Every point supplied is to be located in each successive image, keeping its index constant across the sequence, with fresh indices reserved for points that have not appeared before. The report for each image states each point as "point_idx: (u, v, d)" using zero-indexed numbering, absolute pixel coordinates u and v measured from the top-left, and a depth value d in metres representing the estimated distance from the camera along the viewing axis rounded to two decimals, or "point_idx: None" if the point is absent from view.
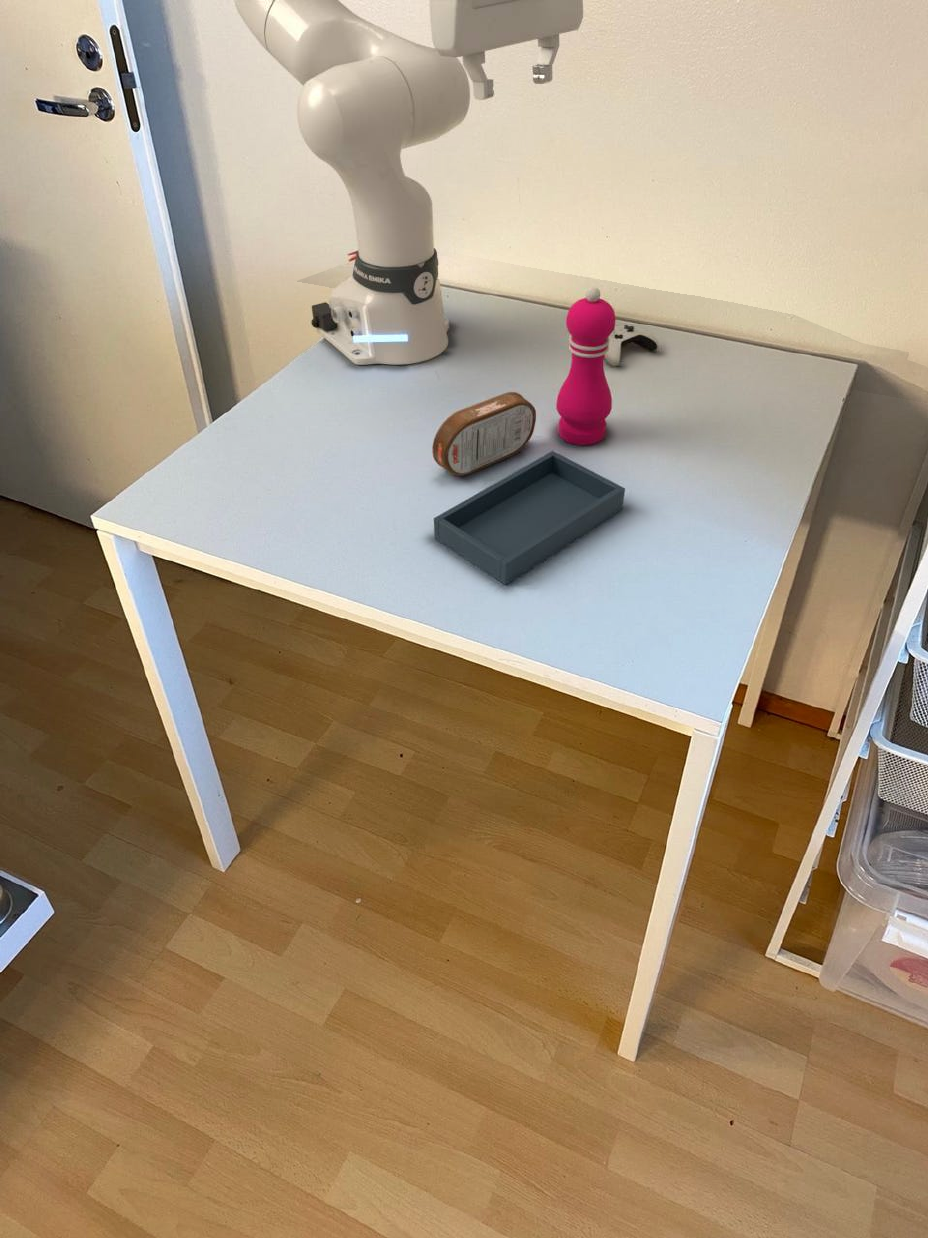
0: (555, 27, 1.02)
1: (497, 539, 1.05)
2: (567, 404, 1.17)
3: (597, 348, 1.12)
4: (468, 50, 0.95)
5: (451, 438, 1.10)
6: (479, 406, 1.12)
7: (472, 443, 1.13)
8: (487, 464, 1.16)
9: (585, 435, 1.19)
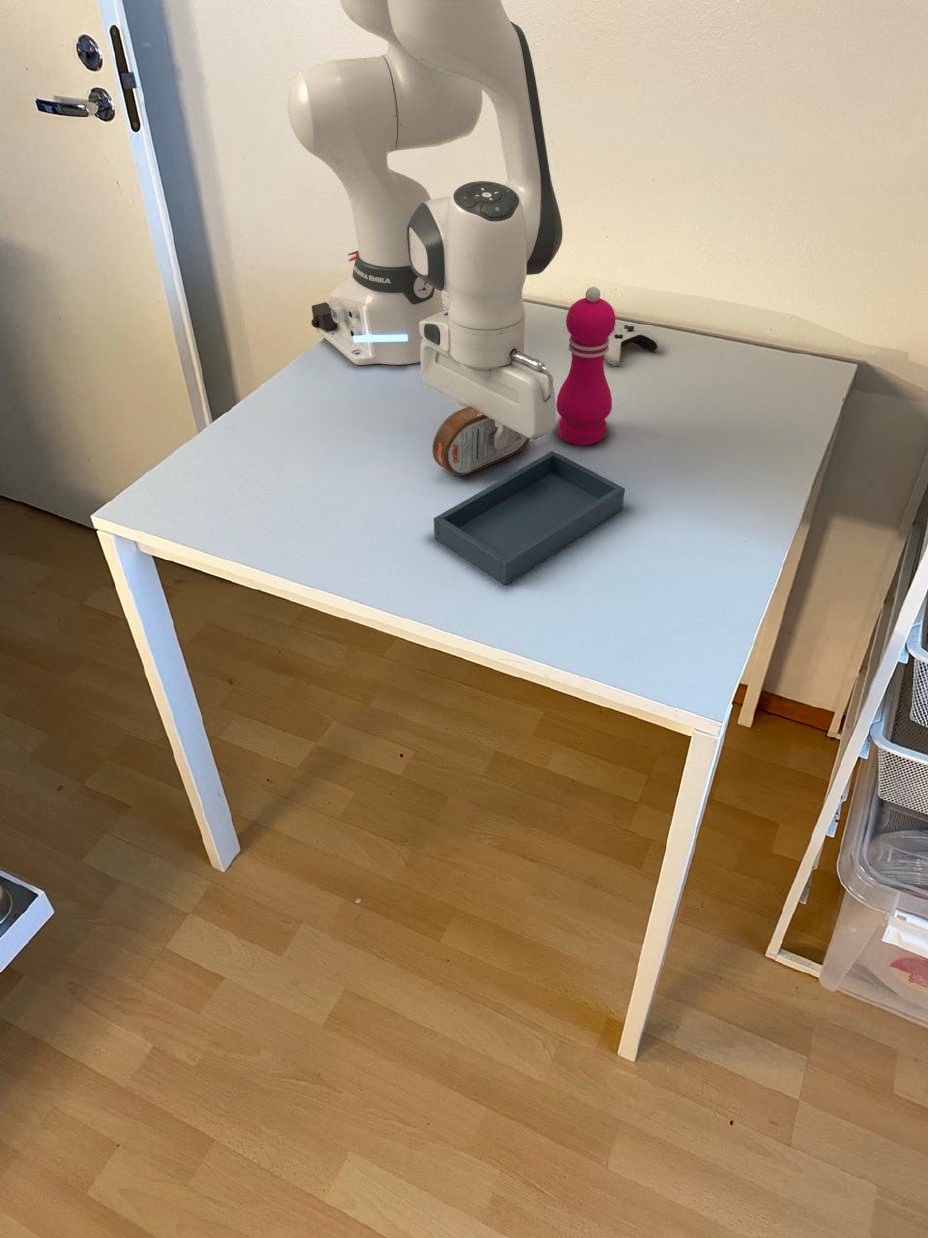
0: (505, 422, 1.08)
1: (497, 539, 1.05)
2: (567, 404, 1.17)
3: (597, 348, 1.12)
4: (431, 385, 1.16)
5: (451, 438, 1.10)
6: None
7: (472, 443, 1.13)
8: (487, 464, 1.16)
9: (585, 435, 1.19)
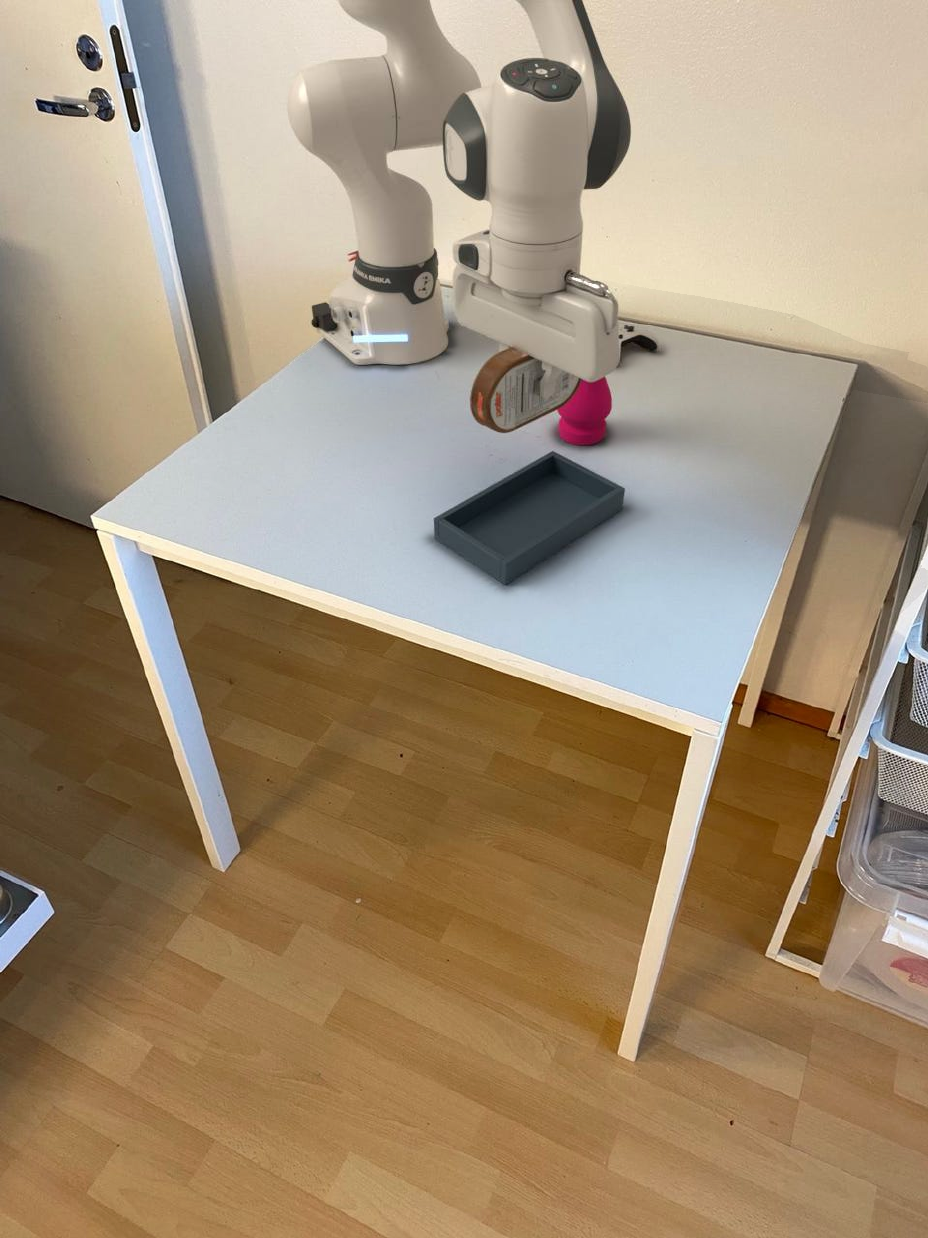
0: (557, 363, 0.90)
1: (497, 539, 1.05)
2: (567, 404, 1.17)
3: None
4: (464, 323, 0.97)
5: (494, 384, 0.91)
6: None
7: (516, 392, 0.94)
8: (533, 418, 0.98)
9: (585, 435, 1.19)
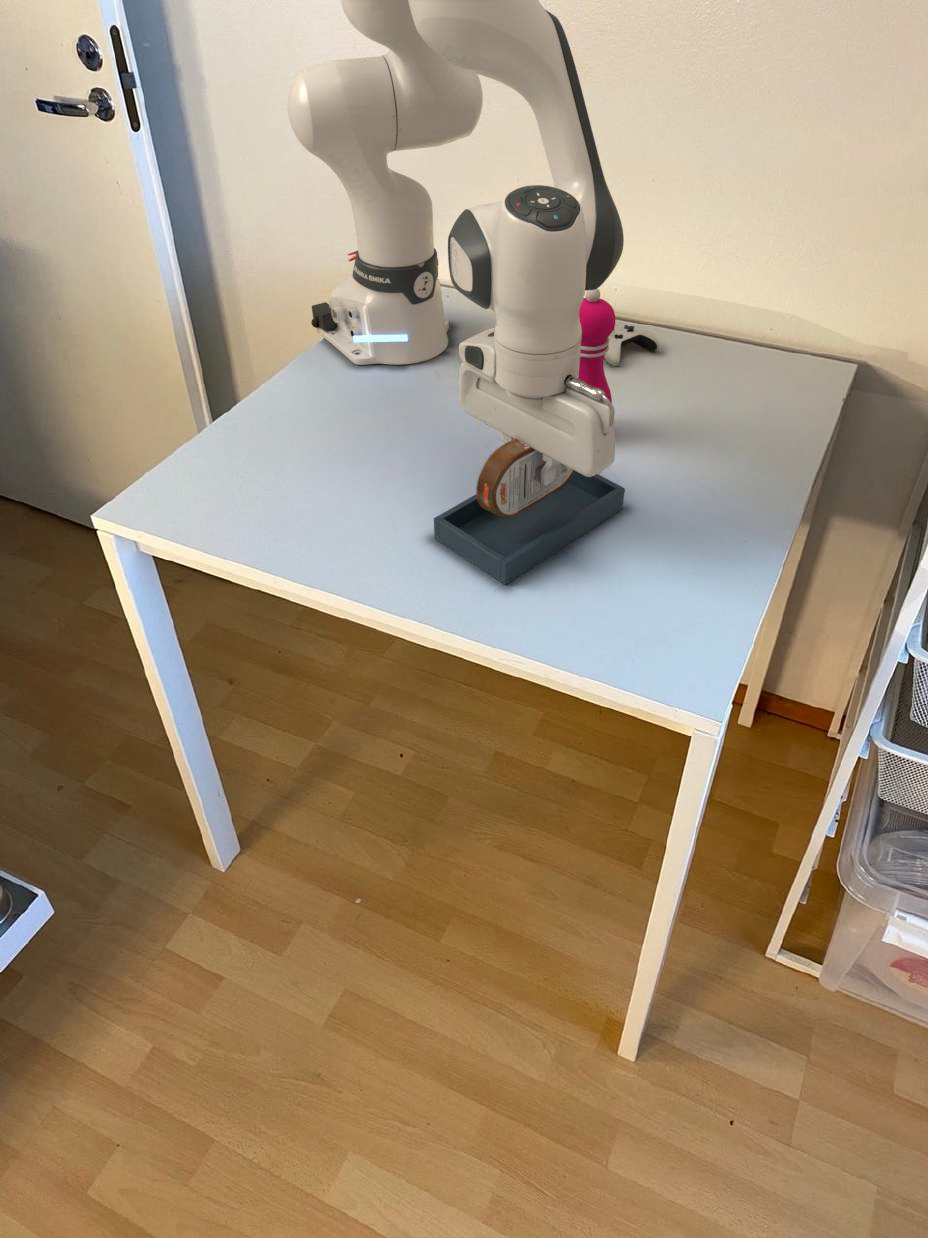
0: (557, 457, 0.96)
1: (497, 539, 1.05)
2: None
3: (597, 348, 1.12)
4: (470, 413, 1.03)
5: (499, 476, 0.97)
6: None
7: (520, 480, 1.00)
8: (535, 502, 1.04)
9: None
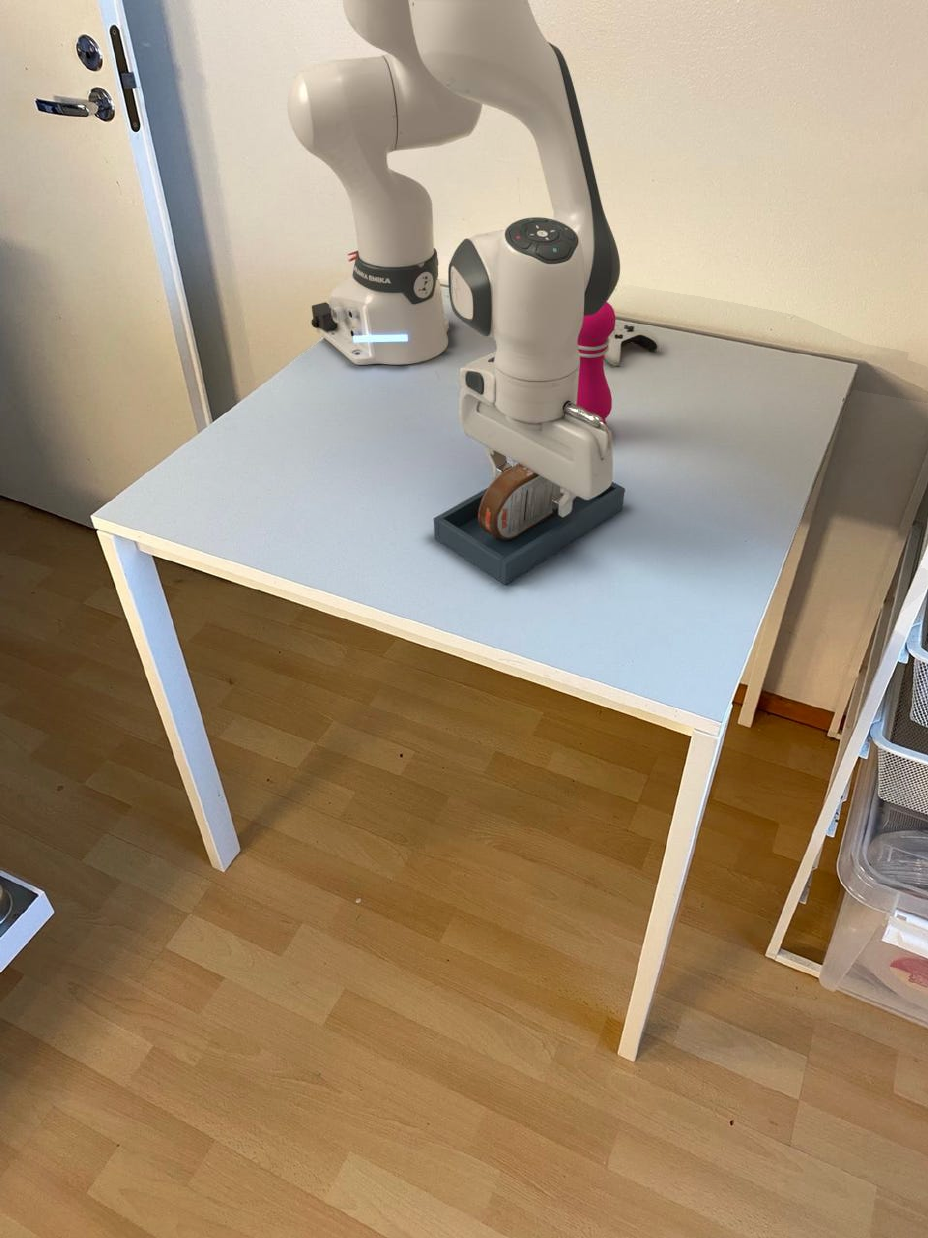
0: (556, 480, 0.98)
1: (497, 539, 1.05)
2: None
3: (597, 348, 1.12)
4: (470, 435, 1.05)
5: (502, 502, 0.99)
6: None
7: (521, 505, 1.02)
8: (534, 524, 1.06)
9: None
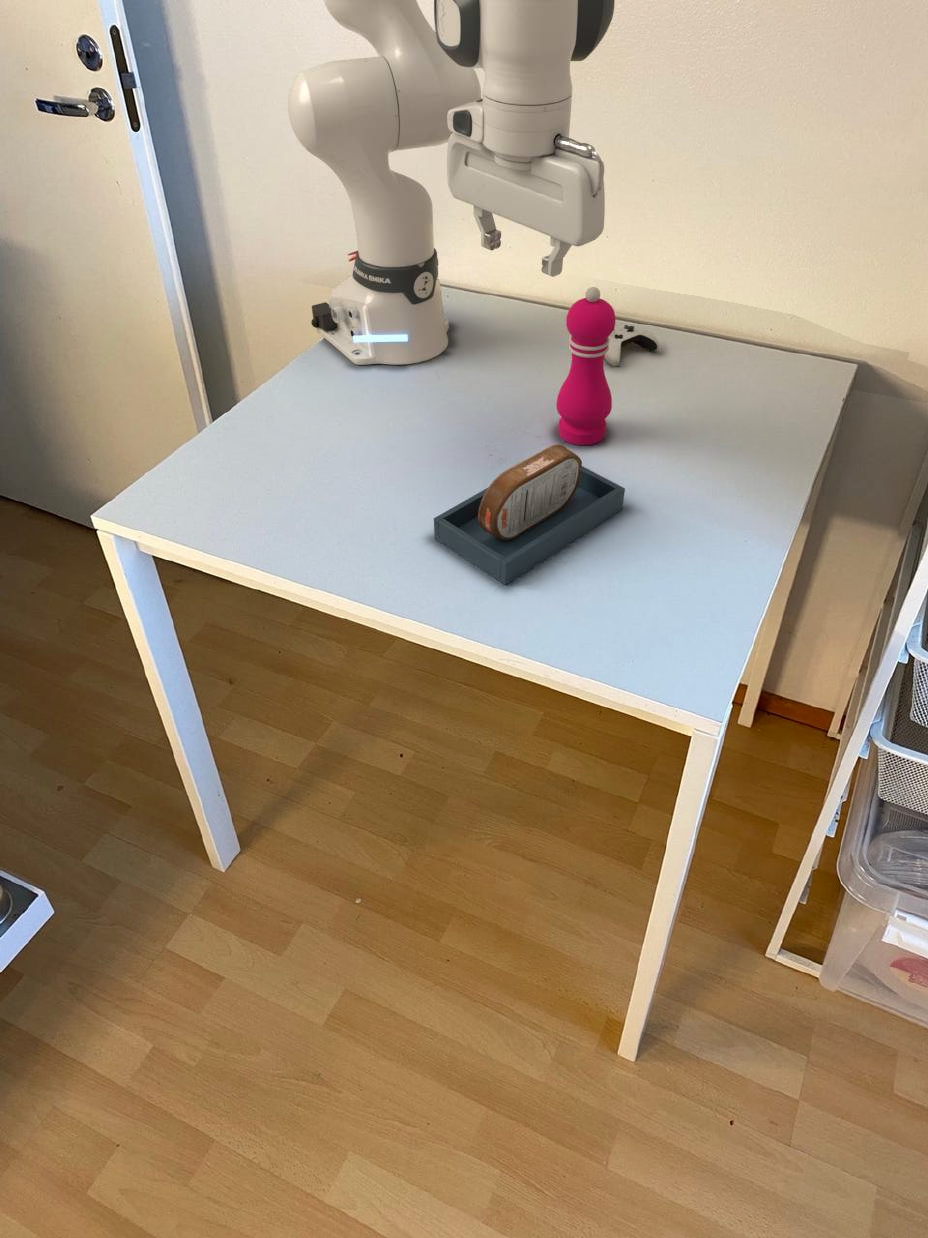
0: (545, 228, 0.94)
1: (497, 539, 1.05)
2: (567, 404, 1.17)
3: (597, 348, 1.12)
4: (458, 196, 1.01)
5: (502, 502, 0.99)
6: (526, 464, 1.02)
7: (521, 505, 1.02)
8: (534, 524, 1.06)
9: (585, 435, 1.19)
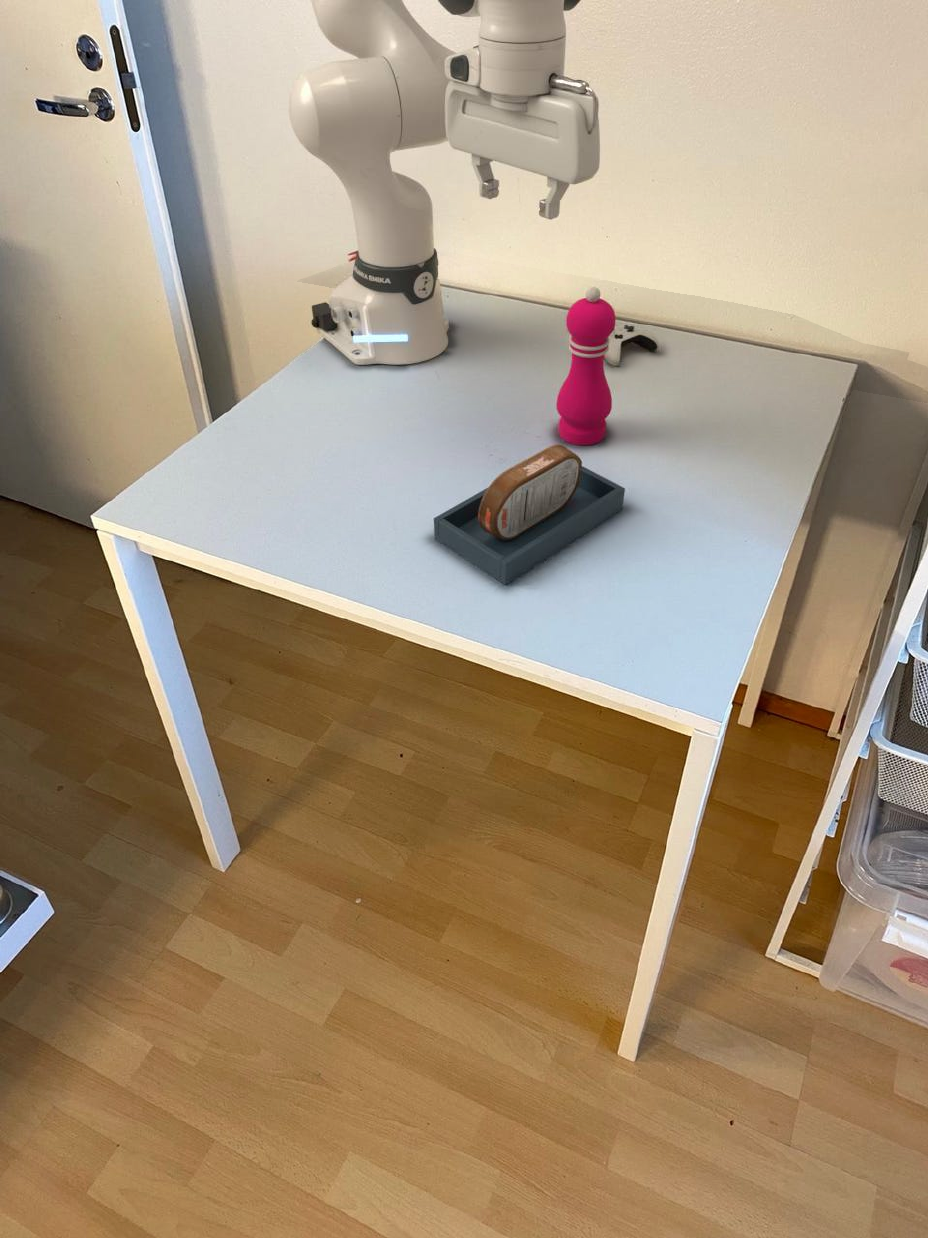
0: (542, 169, 0.96)
1: (497, 539, 1.05)
2: (567, 404, 1.17)
3: (597, 348, 1.12)
4: (456, 145, 1.03)
5: (502, 502, 0.99)
6: (526, 464, 1.02)
7: (521, 505, 1.02)
8: (534, 524, 1.06)
9: (585, 435, 1.19)
